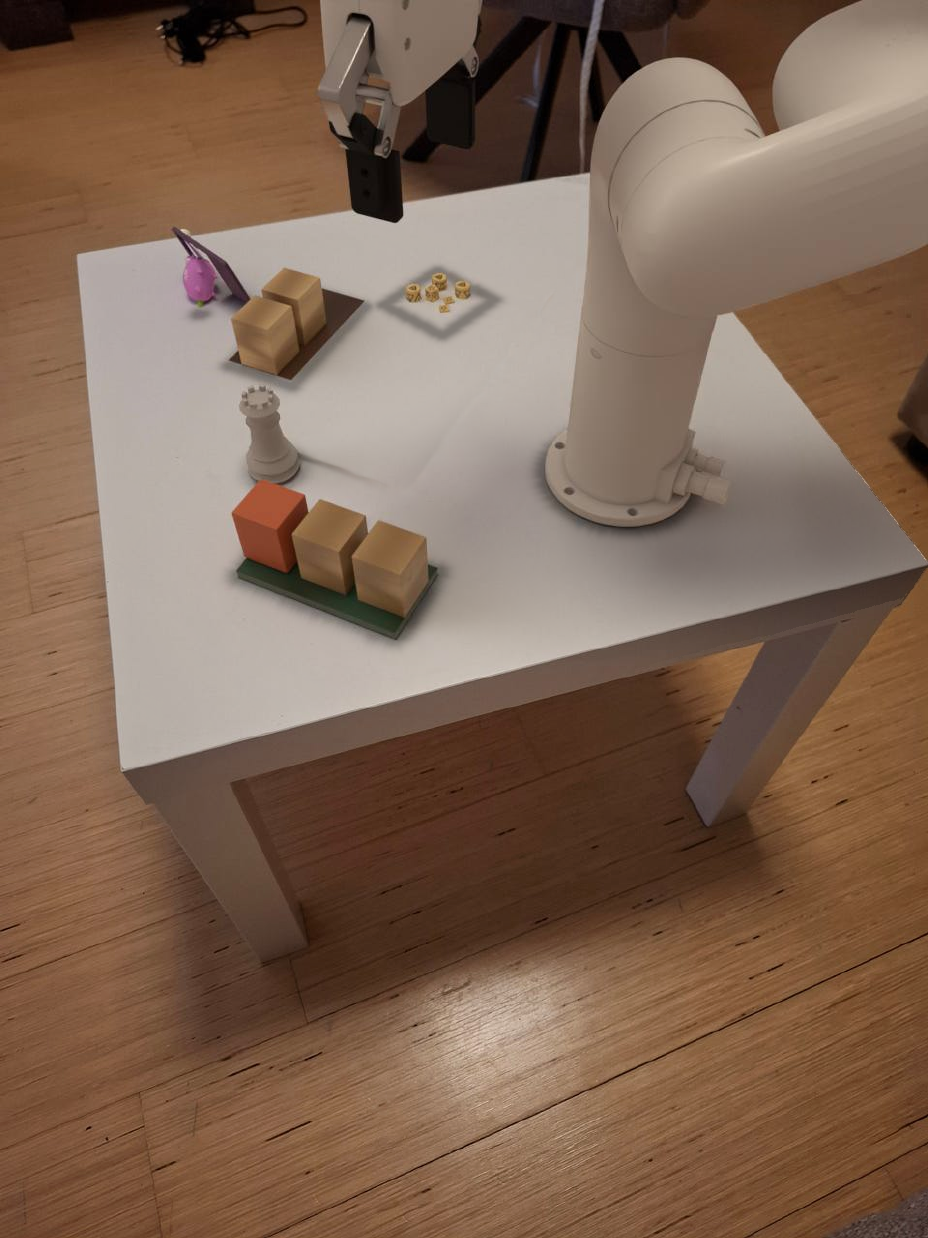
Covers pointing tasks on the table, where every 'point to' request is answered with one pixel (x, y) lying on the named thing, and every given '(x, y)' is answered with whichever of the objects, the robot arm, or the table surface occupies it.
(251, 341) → the far board with cubes
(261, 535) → the orange upright block
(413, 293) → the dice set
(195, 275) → the dragon fruit figure
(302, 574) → the green board with cubes
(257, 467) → the rook chess piece
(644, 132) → the robot arm
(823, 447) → the table surface
